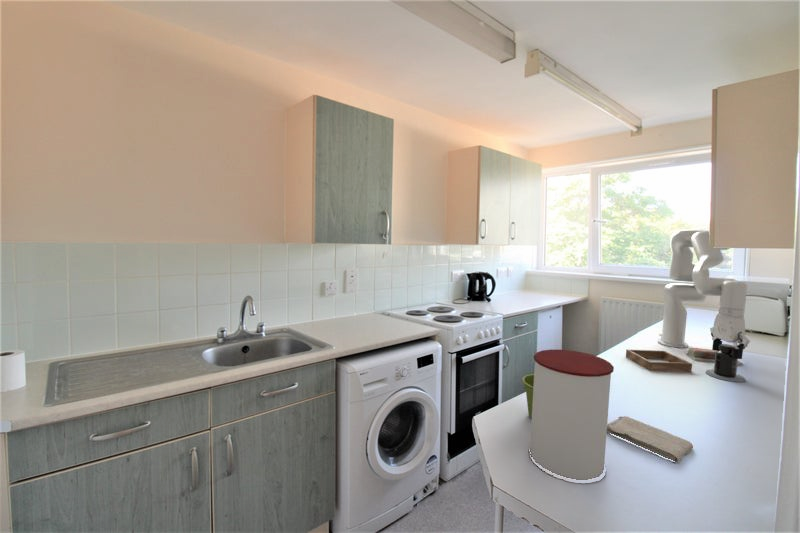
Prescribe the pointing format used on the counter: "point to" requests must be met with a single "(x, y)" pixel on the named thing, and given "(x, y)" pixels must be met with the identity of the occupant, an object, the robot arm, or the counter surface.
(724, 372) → the supplement bottle
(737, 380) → the mat
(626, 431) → the washcloth
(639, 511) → the counter surface
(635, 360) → the bin
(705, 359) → the packaged product
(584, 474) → the container
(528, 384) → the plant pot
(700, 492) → the counter surface
